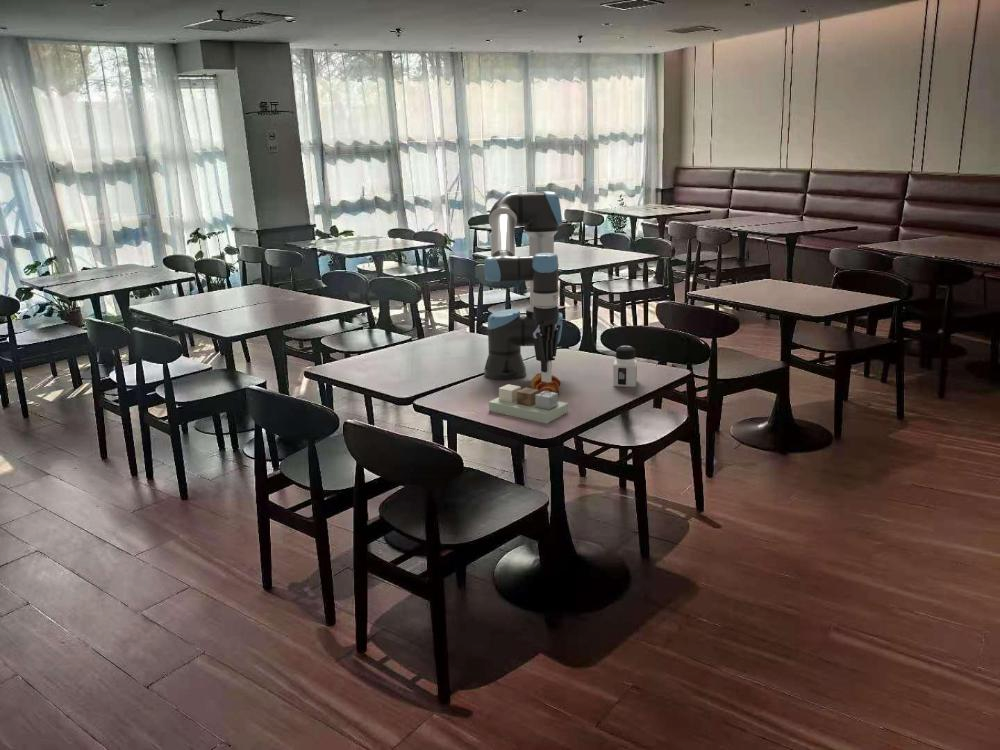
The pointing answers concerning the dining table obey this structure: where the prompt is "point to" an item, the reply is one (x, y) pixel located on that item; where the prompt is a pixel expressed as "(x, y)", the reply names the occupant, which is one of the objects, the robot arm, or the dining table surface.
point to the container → (625, 367)
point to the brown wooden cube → (527, 396)
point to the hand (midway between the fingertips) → (546, 381)
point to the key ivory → (508, 393)
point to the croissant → (545, 384)
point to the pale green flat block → (528, 410)
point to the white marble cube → (546, 400)
